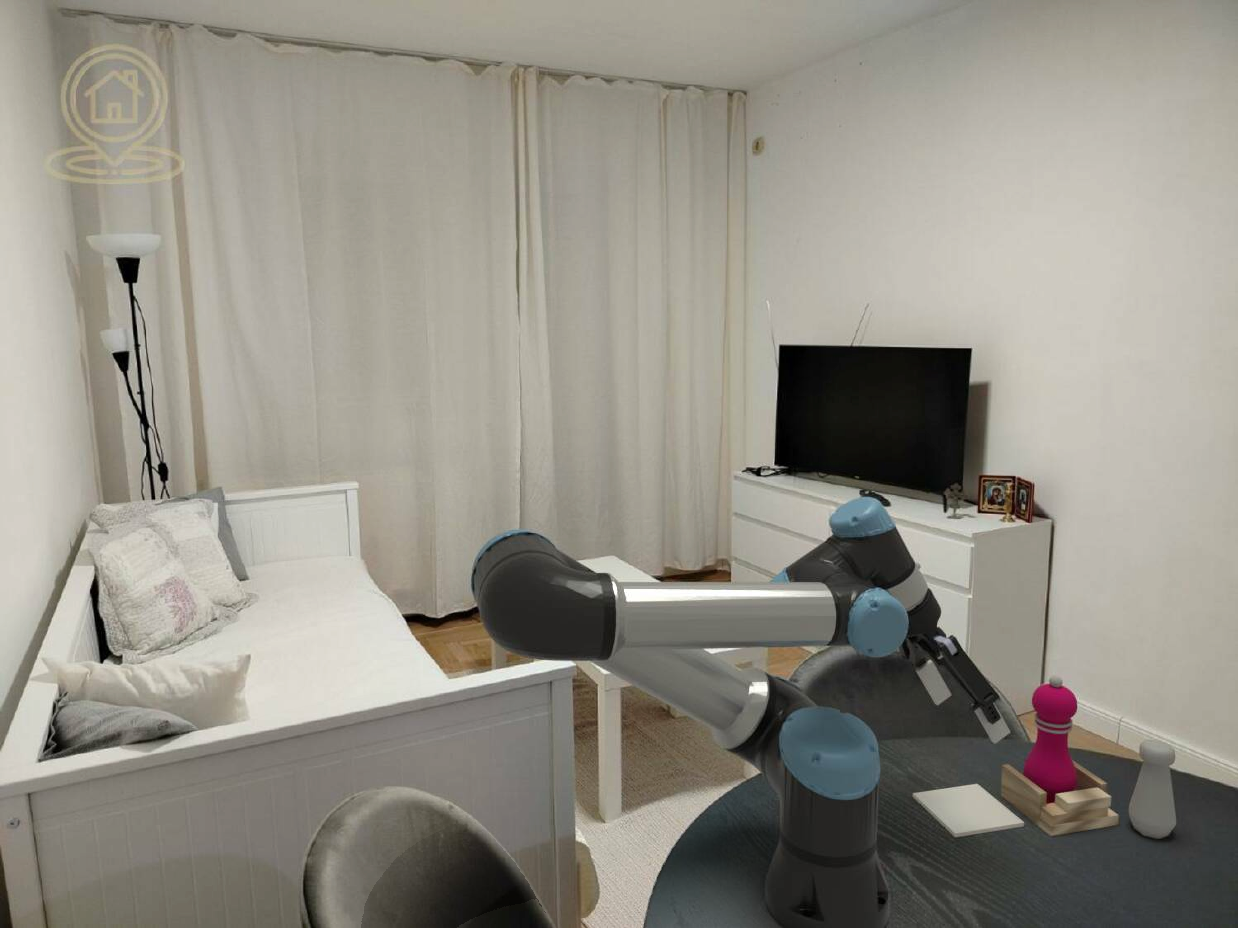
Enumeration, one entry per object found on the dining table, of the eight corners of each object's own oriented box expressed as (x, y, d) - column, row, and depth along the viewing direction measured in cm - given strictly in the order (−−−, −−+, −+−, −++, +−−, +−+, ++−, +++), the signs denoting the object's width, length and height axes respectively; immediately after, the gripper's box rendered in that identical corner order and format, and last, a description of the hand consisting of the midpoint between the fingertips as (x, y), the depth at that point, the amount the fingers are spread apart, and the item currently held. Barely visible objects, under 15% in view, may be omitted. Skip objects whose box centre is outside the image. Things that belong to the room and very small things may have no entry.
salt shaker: (1139, 814, 128) (1146, 730, 126) (1182, 832, 124) (1190, 745, 122) (1119, 828, 125) (1125, 742, 123) (1162, 847, 120) (1170, 758, 118)
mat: (954, 837, 124) (955, 833, 123) (912, 796, 134) (912, 793, 134) (1024, 826, 126) (1024, 822, 126) (977, 787, 137) (977, 783, 136)
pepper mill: (1063, 790, 135) (1072, 666, 132) (1083, 816, 128) (1092, 686, 125) (1014, 789, 136) (1021, 665, 133) (1031, 815, 129) (1039, 685, 125)
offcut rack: (1050, 835, 123) (1052, 802, 123) (1000, 795, 134) (1002, 764, 133) (1118, 824, 126) (1120, 792, 125) (1063, 785, 136) (1065, 755, 136)
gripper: (981, 608, 110) (1051, 737, 115) (879, 563, 134) (941, 671, 139) (933, 643, 109) (1006, 772, 114) (840, 591, 133) (903, 699, 138)
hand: (970, 717), depth 126 cm, fingers open, 13 cm apart
